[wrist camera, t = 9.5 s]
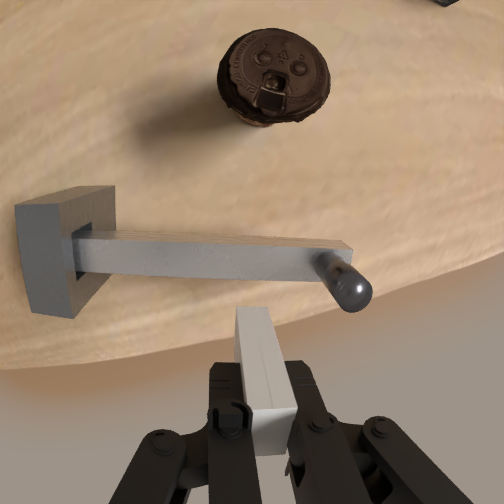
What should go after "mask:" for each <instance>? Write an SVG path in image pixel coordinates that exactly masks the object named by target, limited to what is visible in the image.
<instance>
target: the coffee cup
mask: <svg viewBox="0 0 504 504" xmlns="http://www.w3.org/2000/svg"><path fill="white" fill-rule="evenodd" d="M217 85H218V89H219V93H220V95H221V96H222V99H223V100H224V101H225V102H226V104H227V107H228V108H232V109H233V111H234V112H235V113H236V114H237V115H238V117H239V118H241V119H242V120H244V121H245V122H247V123H249V124H252V125H255V126H258V127H259V126H267V127H269V126H272V125H273V124H274V123H282V122H292V121H295V122H298V123H299V122H300V121H303V120H304V119H305V118H306V117H308V116H310V115H311V114H314V113H315V112H316V111H317V110H318V109H319V108H321V106H322V105H323V104H324V103H325V101H326V99H327V97H328V94H329V93H330V86H331V84H330V73H329V70H328V67H327V63H326V61H325V59H324V58H323V56H322V55H321V53H320V52H319V51H318V49H317V48H316V47H315V46H314V45H312V44H311V43H310V42H309V41H307V40H306V39H304V38H303V37H301V36H299V35H297V34H295V33H292V32H289V31H286V30H282V29H278V28H266V29H259V30H254V31H251V32H249V33H247V34H245V35H243V36H241V37H239V38H238V39H237V40H235V41H234V43H233V44H232V45H231V46H230V48H229V49H228V51H227V52H226V54H225V55H224V57H223V58H222V60H221V61H220V63H219V68H218V73H217Z"/></svg>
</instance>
